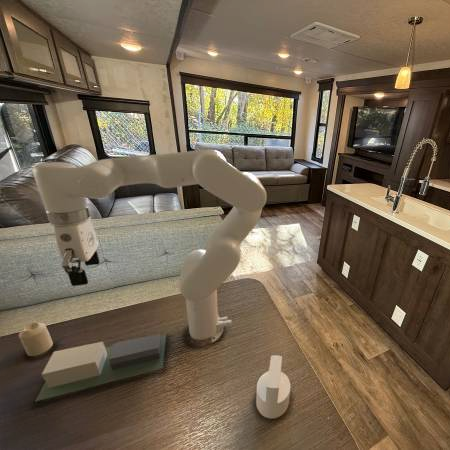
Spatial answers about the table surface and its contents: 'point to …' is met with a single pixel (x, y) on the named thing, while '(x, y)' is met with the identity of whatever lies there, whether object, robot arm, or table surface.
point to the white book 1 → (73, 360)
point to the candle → (35, 339)
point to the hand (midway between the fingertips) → (87, 273)
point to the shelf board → (105, 375)
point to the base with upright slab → (273, 390)
